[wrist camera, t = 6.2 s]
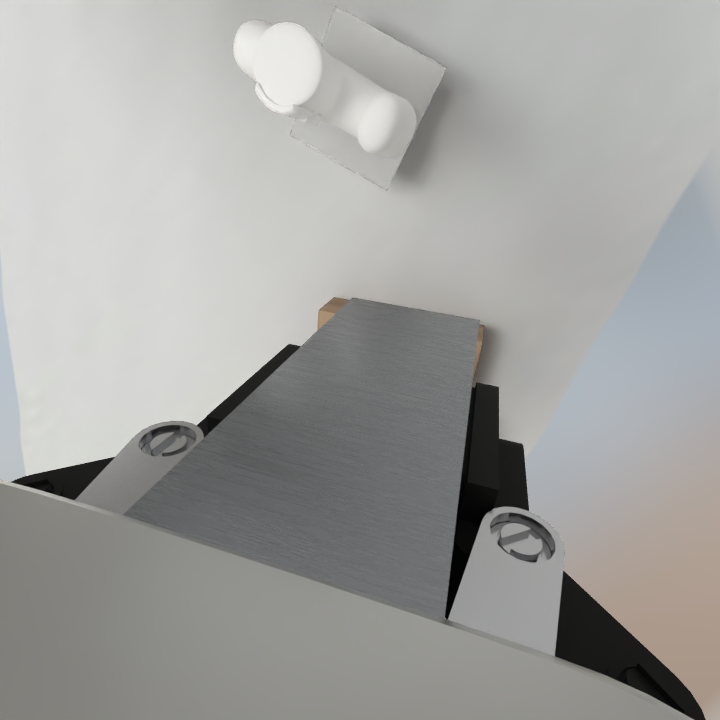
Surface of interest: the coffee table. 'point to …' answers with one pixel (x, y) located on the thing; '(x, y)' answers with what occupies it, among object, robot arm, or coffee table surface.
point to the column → (341, 458)
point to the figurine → (342, 89)
